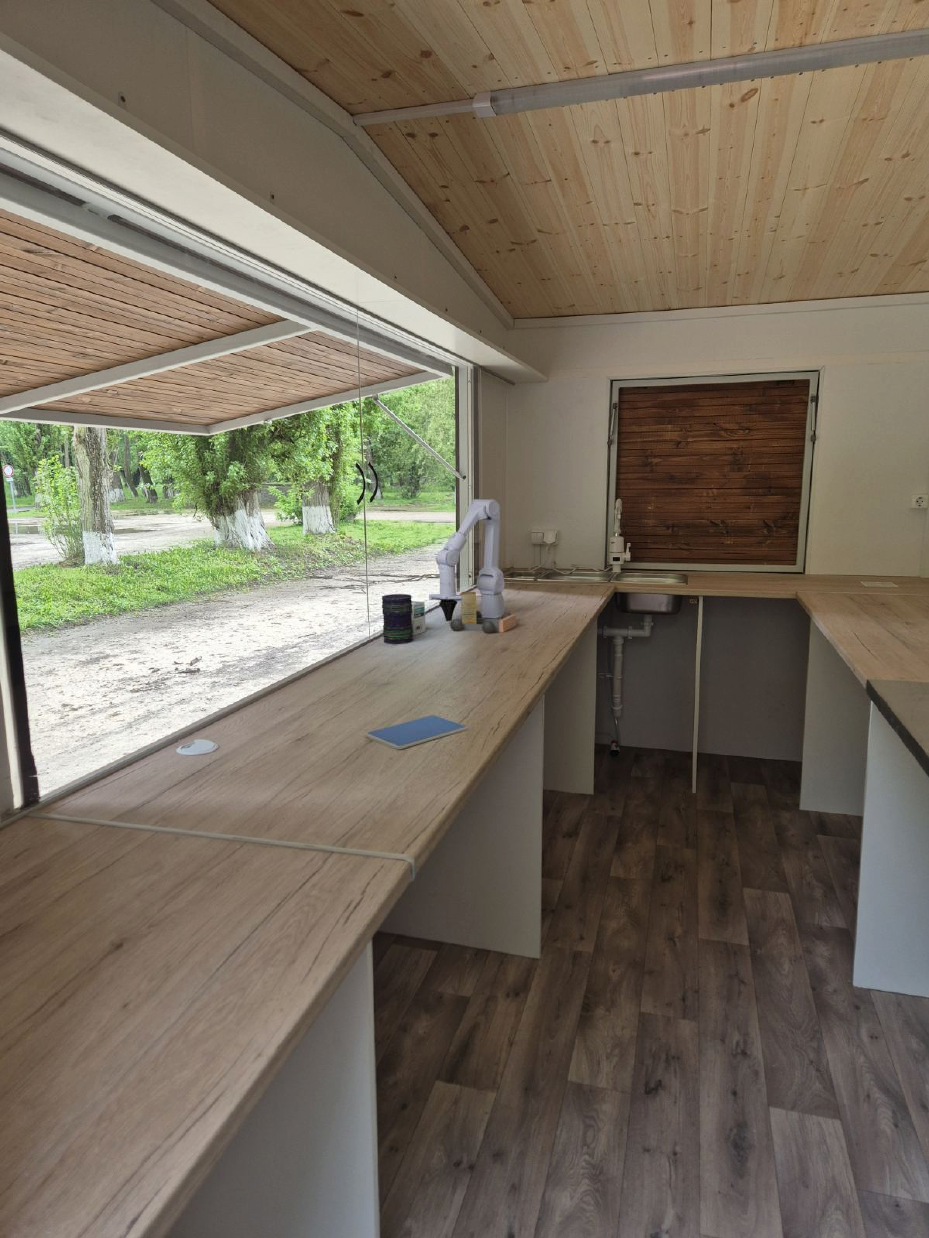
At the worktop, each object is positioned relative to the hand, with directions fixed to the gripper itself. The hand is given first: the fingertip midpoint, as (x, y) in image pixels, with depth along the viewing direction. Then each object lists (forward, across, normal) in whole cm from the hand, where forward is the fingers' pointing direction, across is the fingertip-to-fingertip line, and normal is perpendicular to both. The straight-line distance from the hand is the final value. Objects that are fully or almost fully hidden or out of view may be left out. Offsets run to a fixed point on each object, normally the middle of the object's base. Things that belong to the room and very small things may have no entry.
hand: (448, 620), depth 295 cm
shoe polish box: (+2, +8, 0) cm, 8 cm away
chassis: (+2, +14, 0) cm, 14 cm away
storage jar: (+2, -4, -30) cm, 30 cm away
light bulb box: (+2, -8, -16) cm, 18 cm away
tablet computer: (+2, +46, -111) cm, 120 cm away
